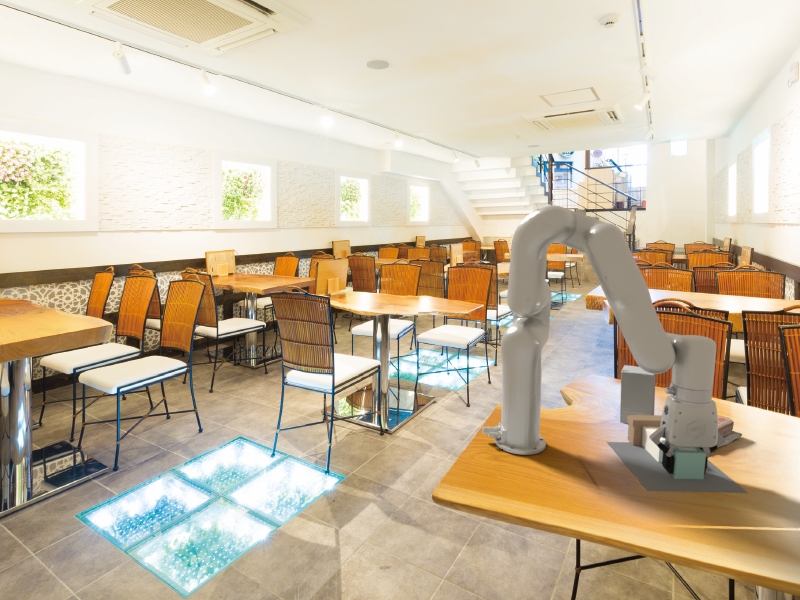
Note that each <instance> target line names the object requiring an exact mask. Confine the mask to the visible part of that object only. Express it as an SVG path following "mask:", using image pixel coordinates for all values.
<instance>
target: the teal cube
mask: <svg viewBox="0 0 800 600" xmlns="http://www.w3.org/2000/svg"><path fill="white" fill-rule="evenodd" d="M672 456H673V457H674V458H675V460H674V472H673V474H671V475H672V476H673V477H674V478H675V479H704V469H705V459H706V453H705V452H704V451H703V450H701V449H700V448H699V447H676V449H675V451H674V453H673V455H672Z"/></svg>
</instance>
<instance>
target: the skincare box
mask: <svg viewBox="0 0 800 600" xmlns="http://www.w3.org/2000/svg"><path fill="white" fill-rule="evenodd" d="M620 371H621V372H620V407H619V409H620V411H619V412H620V413H619V423H622V424H627V425H629V422H628V421H627V416H628V415H655V403H656V402H655V400H656V398H655V397H656V375H657V374H652V373H649V372H646V371H644V370H643V369H641V368H640V367H639V366H635V365H627V364H623V367H622V369H621V370H620Z"/></svg>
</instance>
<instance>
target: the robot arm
mask: <svg viewBox="0 0 800 600" xmlns="http://www.w3.org/2000/svg"><path fill="white" fill-rule="evenodd" d="M512 236H513V237H512V240H511V245H510V246H511V247H510V259H509V269H508V283H507V293H506V300H507V301H506V302H507V305H508V308H509V310H510V311H511V312H512V313H513V314H512V324H511V325H509V326H508V327H507V328H506V330H505V331H504V333H503V335H502V337H501V342H500V356H501V357H500V358H501V414H500V417H501V418H500V420H501V421H498V422H497V423H498V425H494V426H482V431H481V432H482V435H487V436H488V439H489V438H493V439H494V443H495V445H496V446H497V447H498V448H499V449H500V450H502V449H503V450H502V451H504V452H507V453H511V454H514V455H522V456H524V455H525V456H526V455H527V456H529V455H536V454H540V453H541V452H543V451H544V450H545V449H546V445H547V443H546V439H545V438H544V437H542V435H541V434H540V431H541V430H540V428H541V427H540V426H541V407H542V404H541V403H542V401H541V400H542V373H543V372H542V371H543V369H542V368H543V367H542V353H543V349H544V347H545V346H546V344H547V342H548V340H549V335H550V334H549V333H550V322H551V311H552V310H551V308H552V289H551V286H550V285H549V283H548V282H547V280H546V274H547V273H546V271H547V264H548V263H547V262H548V260H547V259H548V258H547V257H548V256H547V254H548V250H549V248H550V246H551V245H552V244H555V243H557V244H559V245H562V246H565V247H566V248H570V249H573V250H575V251H578V252H580V253H583V254H585V255H586V258H587V259H588V261H589V264H590V265H591V268H592V269H593V272H594V274H595V276H596V278H597V280H598V283H599V285H600V287H601V290H602V291H603V294H604V296H605V298H606V300H607V302H608V305H609V308H610V309H611V312H612V314H613V315H614V317H615V320H616V322H617V324H618V326H619V328H620V331H621V334H622V336H623V338H624V340H625V342H626V344H627V347H628V348H629V350H630V353H631V356H632V357H633V359H634V361H635V363H636V364H637V365H638V366H637V367H640V368H641V369H643V370H644V371H646V372H649V373H652V374H656V375H659V374H663V373H666V372H668V371H669V370H670V369H671V383H670V384H669V387H664V394H666V395H667V396H666V399H665V402H664V404H663V409H662V413H661V416H662V417H661V424H660V427H659V428H658V429H657V430H656V431H655V432H654V433H652V434H651V435H650V436H649V438H650V439H651V440H652V441H653V442H654V443H655V444H656V445H657V446H658V447H659V448H660V449H661V450H662V451H663V458H662V466H663V467H664V469H665V470H666V471H667V472H668V473H669V474H673V472H674V460H675V458H674V457H673V456H672V455H673V453H674V451H675V449H676V447H699V448H700V449H701V450H703V451H704V452H705V453H706V459H705V469H704V475H705V473H706V469H707V462H708V460H709V458H710V457H712V454H713V453H714V452H715V451H716V450H717V449H718V448H719V447H718V446H720V445H721V444H722V443H724V442H725V439H724V438H723V437H722V436H721V435H720V434H719V433H718V416H717V415H718V411H717V405H716V401H715V400H712V397H713V389H714V388H713V387H714V378H715V377H714V376H715V367H716V356H717V343H716V341H715V340H713V339H712V338H710V337H707V336H704V335H703V336H702V335H697V334H695V335H694V334H685V335H683V334H678V333H677V334H676V333H670V332H667V331H665V329H664V327H663V324H662V322H661V321H660V318H659V316H658V314H657V311H656V309H655V306H654V304H653V301H652V298H651V293H650V290H649V287H648V285H647V282H646V280H645V278H644V277H643V274H642V271H641V269H640V268H639V266H638V264H637V262H636V259H635V258H634V256H633V254H632V251H631V250H630V249H631V248H630V246H629V244H628V242H627V241H626V238H625V236H624V234H623V232H622V230H621V229H620V228H619V227H618V226H617V225H615V224H612V223H608V222H605V221H602V220H599V219H597V218H596V219H595V218H592V217H590V216H587V215H585V214H581V213H579V212H577V211H574V210H572V209H571V210H570V209H569V208H566V207H563V206H560V205H548V206H543V207H540V208H539V209H537V210H534V211H532V212H531V213H529V214H527V216H526V217H524V218H523V219H522V221H521V222H520V223H519V224H518V225H517V227H516V228H515V231H514V233H513V235H512ZM661 437H662V438H665V440H664V442H663V443H662V442H661V441H660V438H661ZM717 447H718V448H717Z"/></svg>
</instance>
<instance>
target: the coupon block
mask: <svg viewBox="0 0 800 600" xmlns="http://www.w3.org/2000/svg"><path fill="white" fill-rule="evenodd" d="M661 417H662V415H660V414H659V415H655V414H654V415H628V416H627V421H628V422H629V424H627V425H628V427H627V442H630V443H631V444H632V445H640V444H641V445H642V446H643V447H644V448H645V449H646V450H647V451H648V452H649V453H650V454H651V455H652V456H653V457H654V458H655V459H656V460H657V461H658V462H662V458H663V451H662V450H661V449H660V448H659V447H658V446H657V445H656V444H655V443H654V442H653V441H652V440H651V439H650V438H649V436H650V435H651V434H652V433H654V432H655V431H656V430H657V429H658V428H659V427H660V424H661ZM664 440H665V438H662V437H661V438H660V441H661V442H662V443H663V442H664Z"/></svg>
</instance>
